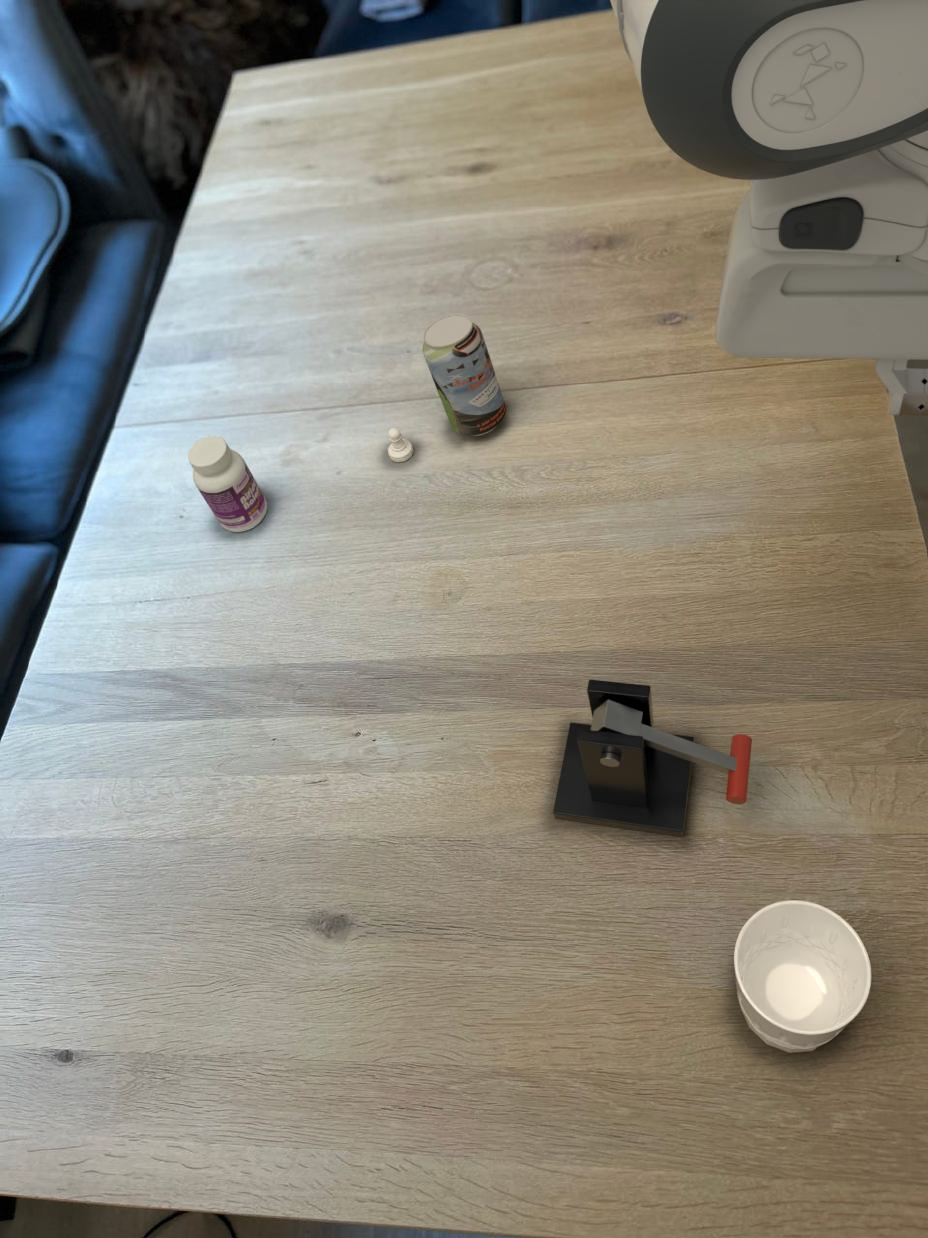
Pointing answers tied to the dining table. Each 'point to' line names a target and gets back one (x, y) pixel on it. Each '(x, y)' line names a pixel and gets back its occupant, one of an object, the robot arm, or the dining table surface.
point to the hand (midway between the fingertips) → (918, 406)
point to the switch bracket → (622, 772)
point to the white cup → (800, 974)
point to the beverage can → (464, 375)
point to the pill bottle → (226, 484)
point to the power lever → (681, 746)
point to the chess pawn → (399, 446)
